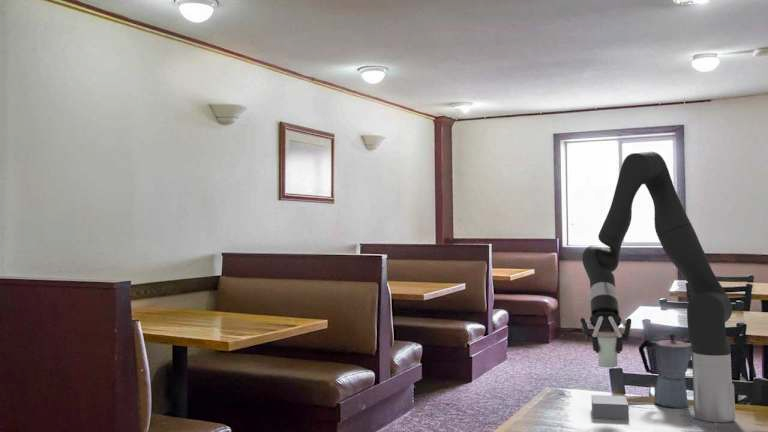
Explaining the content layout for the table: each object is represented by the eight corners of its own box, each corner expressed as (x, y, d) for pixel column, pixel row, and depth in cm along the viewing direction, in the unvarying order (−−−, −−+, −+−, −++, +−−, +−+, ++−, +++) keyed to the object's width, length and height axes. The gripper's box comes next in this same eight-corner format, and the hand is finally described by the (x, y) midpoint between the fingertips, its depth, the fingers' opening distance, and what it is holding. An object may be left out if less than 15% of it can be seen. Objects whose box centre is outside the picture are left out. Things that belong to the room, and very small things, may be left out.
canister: (617, 363, 182) (616, 331, 183) (618, 367, 177) (617, 334, 178) (597, 363, 184) (596, 330, 184) (598, 367, 179) (597, 333, 179)
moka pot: (703, 409, 182) (700, 337, 183) (644, 408, 185) (641, 336, 186) (694, 400, 192) (691, 331, 192) (638, 399, 195) (635, 331, 195)
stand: (625, 410, 183) (625, 396, 184) (628, 419, 175) (628, 404, 175) (591, 409, 186) (591, 394, 186) (593, 418, 177) (592, 403, 177)
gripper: (577, 293, 190) (580, 343, 178) (630, 293, 186) (636, 344, 174) (578, 309, 195) (580, 358, 183) (629, 310, 191) (635, 360, 179)
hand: (607, 351), depth 179 cm, fingers closed on canister, 5 cm apart
